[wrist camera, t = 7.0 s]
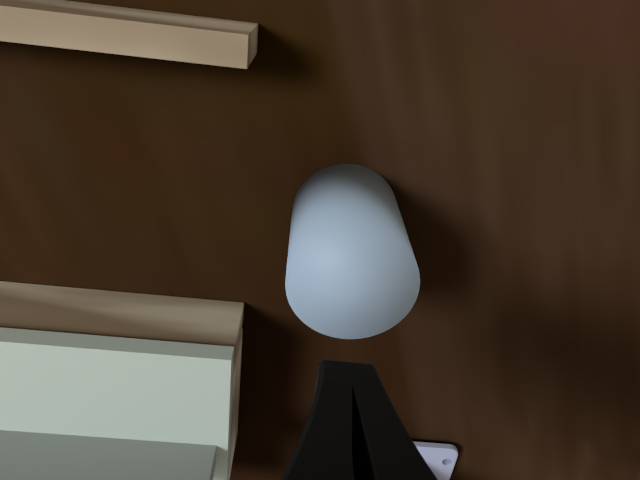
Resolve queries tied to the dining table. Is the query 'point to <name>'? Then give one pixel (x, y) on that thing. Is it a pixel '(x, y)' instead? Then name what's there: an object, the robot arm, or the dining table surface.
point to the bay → (111, 306)
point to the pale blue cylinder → (349, 254)
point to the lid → (113, 408)
